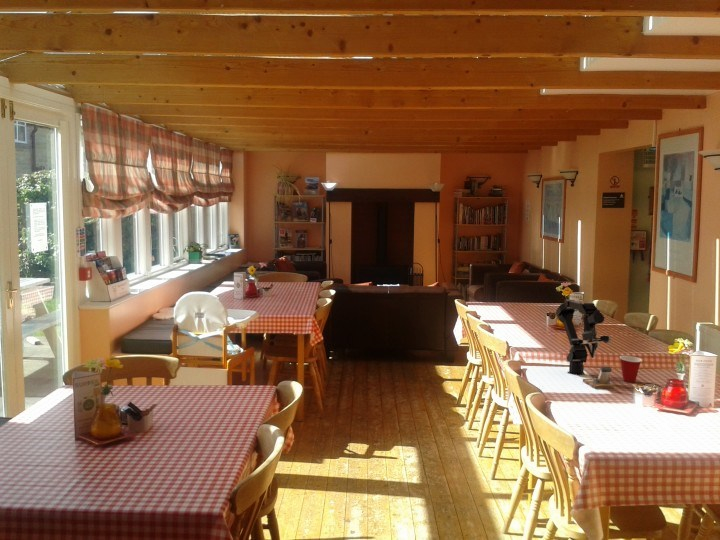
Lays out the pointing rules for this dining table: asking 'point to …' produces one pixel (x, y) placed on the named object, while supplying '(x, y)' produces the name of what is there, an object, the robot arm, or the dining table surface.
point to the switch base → (595, 384)
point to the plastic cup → (630, 367)
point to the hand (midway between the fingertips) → (592, 357)
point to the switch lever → (604, 375)
